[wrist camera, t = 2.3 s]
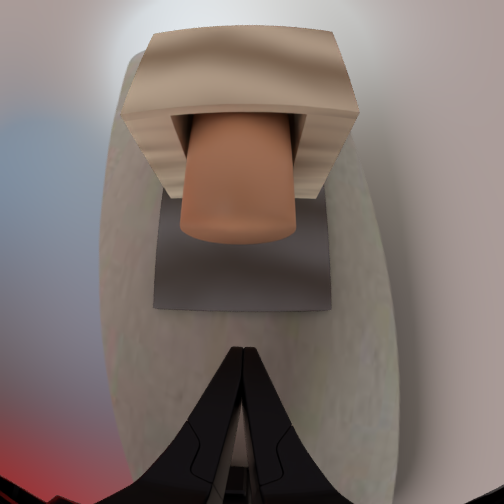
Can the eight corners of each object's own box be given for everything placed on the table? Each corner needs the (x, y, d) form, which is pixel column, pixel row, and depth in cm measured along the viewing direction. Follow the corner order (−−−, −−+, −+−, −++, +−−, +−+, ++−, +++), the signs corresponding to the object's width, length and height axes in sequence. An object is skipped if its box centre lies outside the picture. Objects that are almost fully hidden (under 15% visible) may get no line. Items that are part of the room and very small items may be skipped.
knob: (288, 244, 18) (305, 208, 12) (192, 244, 18) (165, 209, 12) (284, 150, 19) (294, 92, 13) (200, 150, 19) (184, 93, 13)
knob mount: (327, 310, 22) (405, 298, 10) (157, 308, 22) (70, 295, 10) (313, 122, 26) (340, 27, 14) (177, 123, 26) (146, 29, 14)
